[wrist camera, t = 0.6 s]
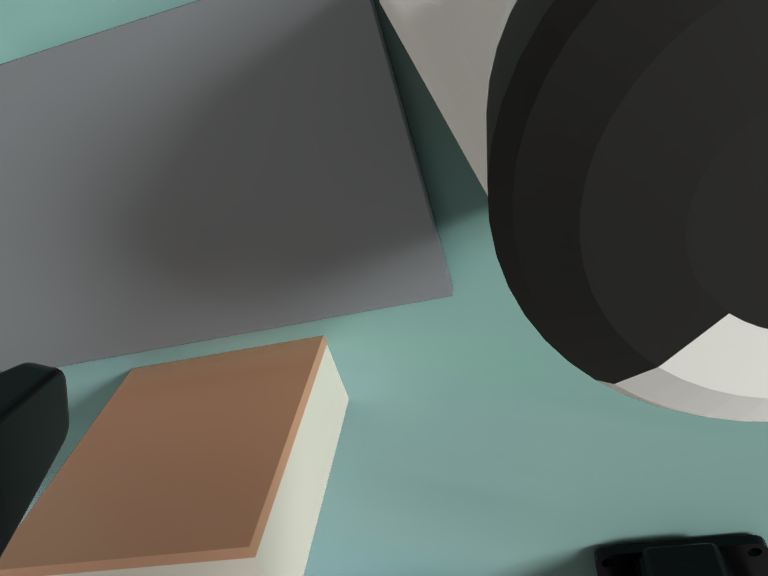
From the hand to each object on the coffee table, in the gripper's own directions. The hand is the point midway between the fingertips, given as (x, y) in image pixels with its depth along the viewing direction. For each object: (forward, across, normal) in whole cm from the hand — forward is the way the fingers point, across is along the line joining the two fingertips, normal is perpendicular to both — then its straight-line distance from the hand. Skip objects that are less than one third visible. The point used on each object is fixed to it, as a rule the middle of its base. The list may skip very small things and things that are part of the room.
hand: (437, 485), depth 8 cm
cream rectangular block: (+14, +6, +12) cm, 19 cm away
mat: (+14, +10, +5) cm, 17 cm away
